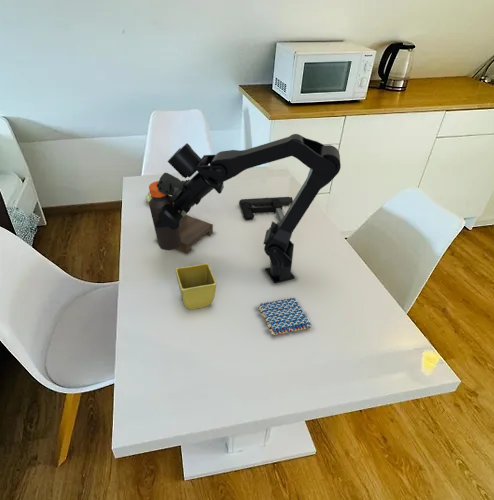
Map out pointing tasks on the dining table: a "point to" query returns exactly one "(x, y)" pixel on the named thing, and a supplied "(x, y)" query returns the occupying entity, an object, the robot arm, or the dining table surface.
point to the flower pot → (196, 285)
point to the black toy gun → (273, 202)
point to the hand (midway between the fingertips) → (160, 220)
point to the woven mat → (284, 316)
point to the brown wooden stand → (192, 231)
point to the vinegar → (165, 235)
